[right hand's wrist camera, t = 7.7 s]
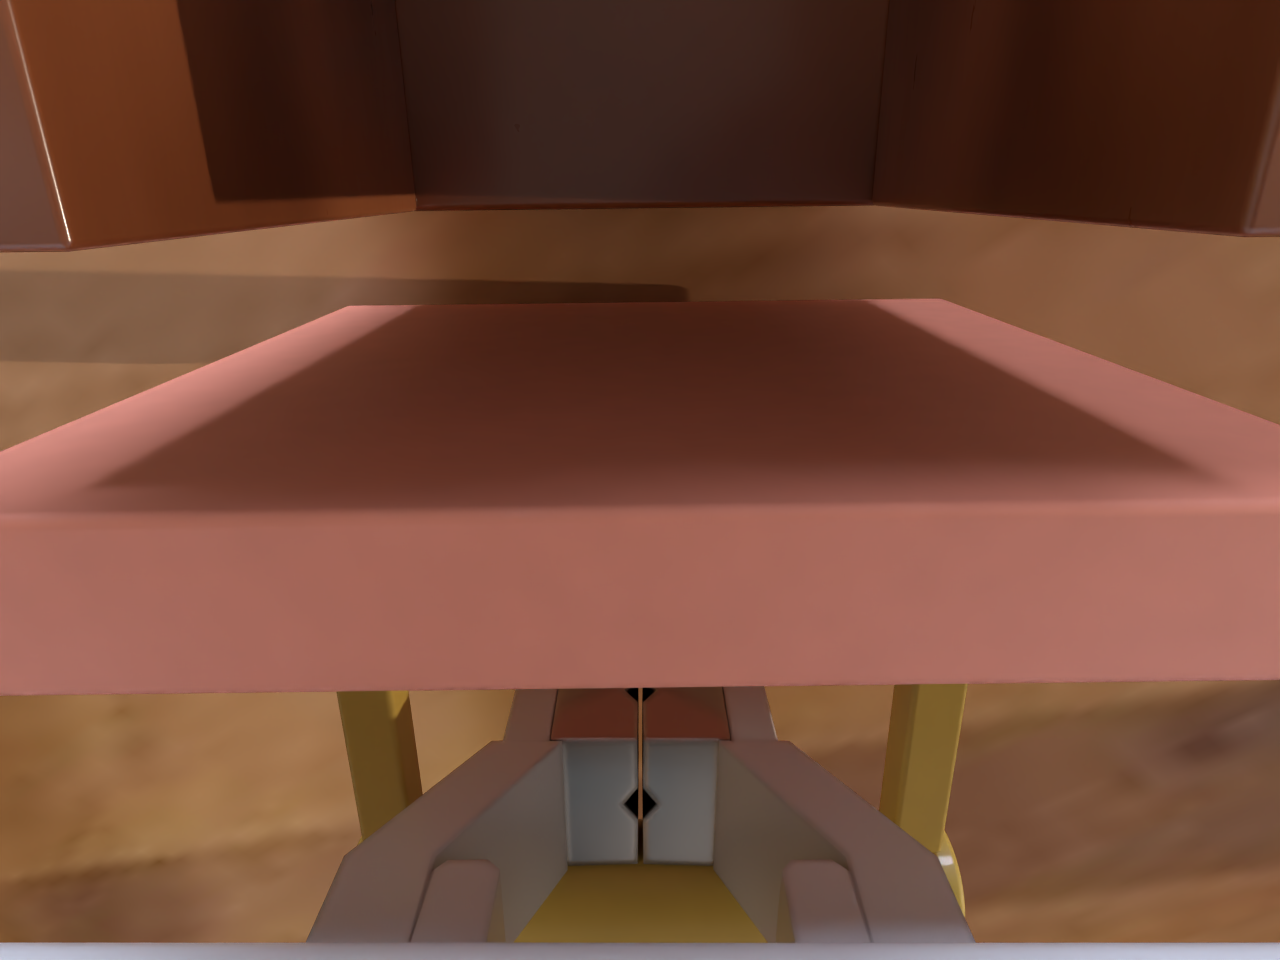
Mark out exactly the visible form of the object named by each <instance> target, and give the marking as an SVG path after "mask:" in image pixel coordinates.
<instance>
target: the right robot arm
mask: <svg viewBox="0 0 1280 960" xmlns="http://www.w3.org/2000/svg"><path fill="white" fill-rule="evenodd" d="M638 755H639V751H638V688H574V689H516V690H515V694H514V698H513V702H512V706H511V710H510V715H509V719H508V723H507V727H506V731H505V735H504V739H503V741H491V742H490V743H488V744H487V745H486V746H485V747H483V748H482V749H481V750H480V751H478V752H477V753H476V754H474V755H473V756H472V757H471V758H469V759H468V760H467V761H465V762H464V763H463V764H462V765H460V766H459V767H458V768H456V769H455V770H454V771H453V772H451V773H450V774H449V775H447V776H446V777H445V778H444V779H442V780H441V781H440V782H438V783H437V784H436V785H435V786H433V787H432V788H431V789H429V790H428V791H427V792H426V793H424V794H423V795H422V796H421V797H419V798H418V799H417V800H415V801H414V802H413V803H412V804H410V805H409V806H408V807H406V808H405V809H404V810H403V811H401V812H400V813H399V814H397V815H396V816H395V817H394V818H392V819H391V820H390V821H388V822H387V823H386V824H385V825H383V826H382V827H381V828H379V829H378V830H377V831H376V832H374V833H373V834H372V835H370V836H369V837H368V838H367V839H365V840H364V841H363V842H362V843H360V844H359V845H358V846H356V847H355V848H354V849H353V850H351V851H350V852H349V853H347V854H346V855H345V856H344V858H343V860H342V862H341V864H340V867H339V869H338V871H337V873H336V876H335V878H334V880H333V882H332V885H331V887H330V889H329V891H328V893H327V896H326V898H325V900H324V902H323V905H322V907H321V909H320V911H319V914H318V916H317V918H316V920H315V923H314V925H313V927H312V929H311V932H310V934H309V936H308V938H307V941H306V943H0V960H1280V943H976V942H975V940H974V938H973V935H972V933H971V931H970V929H969V926H968V924H967V922H966V920H965V917H964V915H963V913H962V911H961V908H960V906H959V904H958V902H957V899H956V897H955V895H954V892H953V890H952V888H951V886H950V883H949V881H948V879H947V877H946V874H945V872H944V870H943V868H942V865H941V863H940V861H939V859H938V857H937V856H936V855H934V854H933V853H932V852H931V851H929V850H928V849H927V848H925V847H924V846H923V845H922V844H920V843H919V842H918V841H917V840H915V839H914V838H913V837H911V836H910V835H909V834H908V833H906V832H905V831H904V830H902V829H901V828H900V827H899V826H897V825H896V824H895V823H894V822H892V821H891V820H890V819H888V818H887V817H886V816H885V815H883V814H882V813H881V812H879V811H878V810H877V809H876V808H874V807H873V806H872V805H871V804H869V803H868V802H867V801H865V800H864V799H863V798H862V797H860V796H859V795H858V794H856V793H855V792H854V791H853V790H851V789H850V788H849V787H847V786H846V785H845V784H844V783H842V782H841V781H840V780H839V779H837V778H836V777H835V776H833V775H832V774H831V773H830V772H828V771H827V770H826V769H824V768H823V767H822V766H821V765H819V764H818V763H817V762H816V761H814V760H813V759H812V758H810V757H809V756H808V755H807V754H805V753H804V752H803V751H801V750H800V749H799V748H798V747H796V746H795V745H794V744H793V743H791V742H790V741H778V739H777V735H776V731H775V727H774V723H773V719H772V715H771V711H770V707H769V703H768V699H767V695H766V692H765V688H764V686H736V687H655V688H643V699H642V776H643V779H642V783H643V864H661V865H696V866H713V870H714V871H715V872H716V874H717V875H718V876H719V878H720V879H721V880H722V882H723V883H724V884H725V886H726V887H727V888H728V890H729V891H730V892H731V894H732V895H733V896H734V898H735V899H736V900H737V902H738V903H739V904H740V906H741V907H742V908H743V910H744V911H745V912H746V914H747V915H748V916H749V918H750V919H751V920H752V922H753V923H754V924H755V926H756V927H757V928H758V930H759V931H760V933H761V934H762V935H763V937H764V938H765V939H766V941H767V942H768V943H513V942H514V941H515V940H516V938H517V937H518V936H519V934H520V933H521V932H522V930H523V929H524V928H525V926H526V925H527V924H528V922H529V921H530V920H531V918H532V917H533V916H534V914H535V913H536V912H537V910H538V909H539V908H540V906H541V905H542V904H543V902H544V901H545V900H546V898H547V897H548V896H549V894H550V893H551V892H552V890H553V889H554V888H555V886H556V885H557V884H558V882H559V881H560V880H561V878H562V877H563V876H564V874H565V873H566V872H567V870H568V867H567V866H584V865H619V864H638Z"/></svg>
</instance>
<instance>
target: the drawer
mask: <svg viewBox="0 0 1280 960" xmlns="http://www.w3.org/2000/svg"><path fill="white" fill-rule="evenodd" d="M863 205H876V206H886V207H898V208H910V209H922V210H933V211H945V212H957V213H969V214H980V215H992V216H1004V217H1015V218H1027V219H1039V220H1051V221H1062V222H1074V223H1086V224H1098V225H1109V226H1121V227H1133V228H1144V229H1156V230H1168V231H1180V232H1191V233H1203V234H1215V235H1227V236H1238V237H1280V0H0V252H69V251H77V250H86V249H95V248H103V247H112V246H120V245H129V244H137V243H146V242H154V241H163V240H172V239H180V238H189V237H197V236H206V235H214V234H223V233H231V232H240V231H249V230H257V229H266V228H274V227H283V226H291V225H300V224H308V223H317V222H326V221H334V220H343V219H351V218H360V217H368V216H377V215H385V214H394V213H403V212H411V211H455V210H537V209H618V208H700V207H781V206H863ZM1224 680H1280V425H1279V424H1276V423H1273V422H1270V421H1268V420H1265V419H1262V418H1260V417H1257V416H1254V415H1252V414H1249V413H1246V412H1244V411H1241V410H1238V409H1236V408H1233V407H1230V406H1228V405H1225V404H1222V403H1219V402H1217V401H1214V400H1211V399H1209V398H1206V397H1203V396H1201V395H1198V394H1195V393H1193V392H1190V391H1187V390H1185V389H1182V388H1179V387H1177V386H1174V385H1171V384H1168V383H1166V382H1163V381H1160V380H1158V379H1155V378H1152V377H1150V376H1147V375H1144V374H1142V373H1139V372H1136V371H1134V370H1131V369H1128V368H1126V367H1123V366H1120V365H1118V364H1115V363H1112V362H1109V361H1107V360H1104V359H1101V358H1099V357H1096V356H1093V355H1091V354H1088V353H1085V352H1083V351H1080V350H1077V349H1075V348H1072V347H1069V346H1067V345H1064V344H1061V343H1058V342H1056V341H1053V340H1050V339H1048V338H1045V337H1042V336H1040V335H1037V334H1034V333H1032V332H1029V331H1026V330H1024V329H1021V328H1018V327H1016V326H1013V325H1010V324H1007V323H1005V322H1002V321H999V320H997V319H994V318H991V317H989V316H986V315H983V314H981V313H978V312H975V311H973V310H970V309H967V308H965V307H962V306H959V305H957V304H954V303H951V302H948V301H946V300H943V299H868V300H787V301H705V302H624V303H542V304H461V305H379V306H347V307H344V308H342V309H340V310H337V311H335V312H332V313H330V314H328V315H325V316H323V317H320V318H318V319H316V320H313V321H311V322H309V323H306V324H304V325H301V326H299V327H297V328H294V329H292V330H289V331H287V332H285V333H282V334H280V335H278V336H275V337H273V338H270V339H268V340H266V341H263V342H261V343H258V344H256V345H254V346H251V347H249V348H246V349H244V350H242V351H239V352H237V353H235V354H232V355H230V356H227V357H225V358H223V359H220V360H218V361H215V362H213V363H211V364H208V365H206V366H204V367H201V368H199V369H196V370H194V371H192V372H189V373H187V374H184V375H182V376H180V377H177V378H175V379H172V380H170V381H168V382H165V383H163V384H161V385H158V386H156V387H153V388H151V389H149V390H146V391H144V392H141V393H139V394H137V395H134V396H132V397H130V398H127V399H125V400H122V401H120V402H118V403H115V404H113V405H110V406H108V407H106V408H103V409H101V410H98V411H96V412H94V413H91V414H89V415H87V416H84V417H82V418H79V419H77V420H75V421H72V422H70V423H67V424H65V425H63V426H60V427H58V428H56V429H53V430H51V431H48V432H46V433H44V434H41V435H39V436H36V437H34V438H32V439H29V440H27V441H25V442H22V443H20V444H17V445H15V446H13V447H10V448H8V449H5V450H3V451H1V452H0V696H5V695H87V694H168V693H249V692H330V691H336V692H337V697H338V703H339V709H340V714H341V720H342V726H343V731H344V737H345V743H346V748H347V754H348V760H349V765H350V771H351V777H352V782H353V788H354V794H355V799H356V805H357V811H358V816H359V822H360V828H361V833H362V837H361V838H360V841H359V843H358V845H359V844H360V843H362V842H363V841H364V840H365V839H367V838H368V837H369V836H370V835H372V834H373V833H374V832H376V831H377V830H378V829H379V828H381V827H382V826H383V825H385V824H386V823H387V822H388V821H390V820H391V819H392V818H394V817H395V816H396V815H397V814H399V813H400V812H401V811H403V810H404V809H405V808H406V807H408V806H409V805H410V804H412V803H413V802H414V801H415V800H417V799H418V798H419V797H421V796H422V795H423V794H422V787H421V779H420V772H419V765H418V758H417V750H416V743H415V736H414V729H413V721H412V714H411V707H410V700H409V692H408V691H411V690H493V689H574V688H655V687H736V686H818V685H894V693H893V701H892V709H891V717H890V726H889V734H888V742H887V750H886V758H885V767H884V775H883V783H882V791H881V799H880V807H879V812H881V813H882V814H883V815H885V816H886V817H887V818H888V819H890V820H891V821H892V822H894V823H895V824H896V825H897V826H899V827H900V828H901V829H902V830H904V831H905V832H906V833H908V834H909V835H910V836H911V837H913V838H914V839H915V840H917V841H918V842H919V843H920V844H922V845H923V846H924V847H925V848H927V849H928V850H929V851H931V852H932V853H933V854H934V855H936V856H937V857H938V859H939V861H940V863H941V865H942V868H943V870H944V872H945V874H946V877H947V879H948V881H949V883H950V886H951V888H952V890H953V892H954V895H955V897H956V899H957V902H958V904H959V906H960V908H961V911H962V913H963V915H964V917H965V902H964V893H963V886H962V880H961V875H960V871H959V867H958V863H957V860H956V857H955V854H954V851H953V848H952V845H951V843H950V841H949V838H948V836H947V834H946V832H945V831H944V829H945V822H946V816H947V810H948V804H949V798H950V791H951V785H952V779H953V773H954V767H955V760H956V754H957V748H958V742H959V736H960V729H961V723H962V717H963V711H964V705H965V699H966V692H967V686H968V684H980V683H1061V682H1142V681H1224ZM358 845H357V846H358ZM567 867H568V870H567V872H566V873H565V874H564V876H563V877H562V878H561V880H560V881H559V882H558V884H557V885H556V886H555V888H554V889H553V890H552V892H551V893H550V894H549V896H548V897H547V898H546V900H545V901H544V902H543V904H542V905H541V906H540V908H539V909H538V910H537V912H536V913H535V914H534V916H533V917H532V918H531V920H530V921H529V922H528V924H527V925H526V926H525V928H524V929H523V930H522V932H521V933H520V934H519V936H518V937H517V938H516V940H515V941H514V942H513V943H768V942H767V941H766V939H765V938H764V937H763V935H762V934H761V933H760V931H759V930H758V928H757V927H756V926H755V924H754V923H753V922H752V920H751V919H750V918H749V916H748V915H747V914H746V912H745V911H744V910H743V908H742V907H741V906H740V904H739V903H738V902H737V900H736V899H735V898H734V896H733V895H732V894H731V892H730V891H729V890H728V888H727V887H726V886H725V884H724V883H723V882H722V880H721V879H720V878H719V876H718V875H717V874H716V872H715V871H714V870H713V866H696V865H661V864H643V819H638V864H619V865H584V866H567Z"/></svg>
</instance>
